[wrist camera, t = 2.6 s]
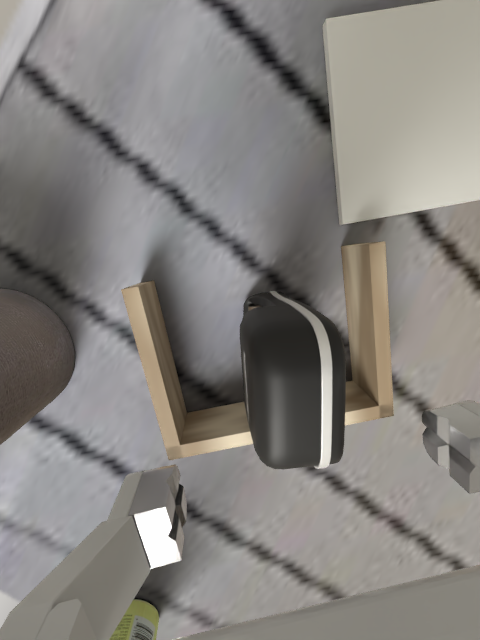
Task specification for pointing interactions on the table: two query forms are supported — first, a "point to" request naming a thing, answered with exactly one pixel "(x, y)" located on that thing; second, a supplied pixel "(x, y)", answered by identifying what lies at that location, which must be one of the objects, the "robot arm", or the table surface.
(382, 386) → the bay
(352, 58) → the mat
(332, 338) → the battery charger
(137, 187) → the table surface
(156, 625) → the tube
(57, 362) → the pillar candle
